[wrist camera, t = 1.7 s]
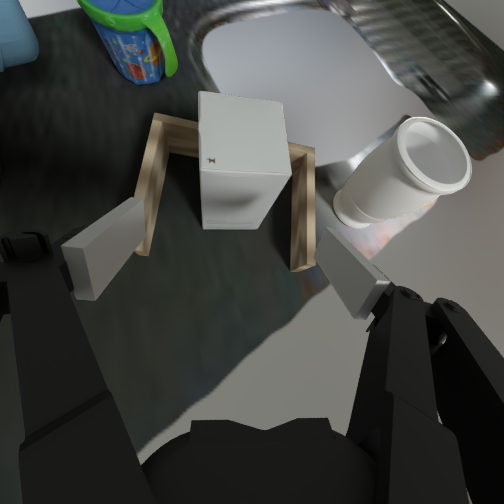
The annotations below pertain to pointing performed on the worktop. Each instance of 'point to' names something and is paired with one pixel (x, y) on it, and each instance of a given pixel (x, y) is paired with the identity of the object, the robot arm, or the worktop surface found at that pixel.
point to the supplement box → (240, 159)
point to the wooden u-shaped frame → (187, 143)
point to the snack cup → (134, 37)
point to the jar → (404, 174)
